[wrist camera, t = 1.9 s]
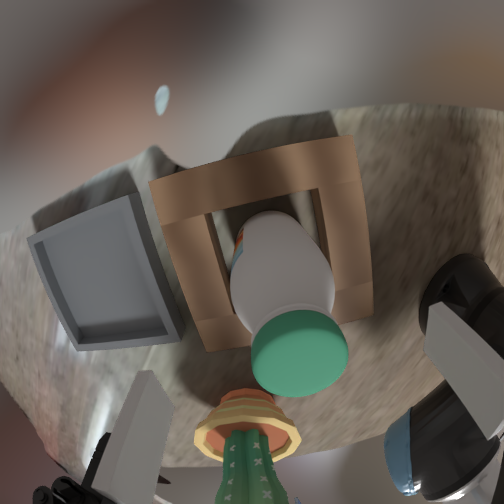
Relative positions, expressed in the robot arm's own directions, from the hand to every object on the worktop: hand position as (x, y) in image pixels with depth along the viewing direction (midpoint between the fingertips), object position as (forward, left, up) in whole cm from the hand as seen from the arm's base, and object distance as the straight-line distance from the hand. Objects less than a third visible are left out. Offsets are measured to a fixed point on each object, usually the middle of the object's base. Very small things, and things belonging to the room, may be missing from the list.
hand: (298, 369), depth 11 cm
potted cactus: (+9, +26, -21) cm, 34 cm away
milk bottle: (0, 0, -21) cm, 21 cm away
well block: (0, 0, -20) cm, 20 cm away
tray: (+22, 0, -20) cm, 30 cm away
